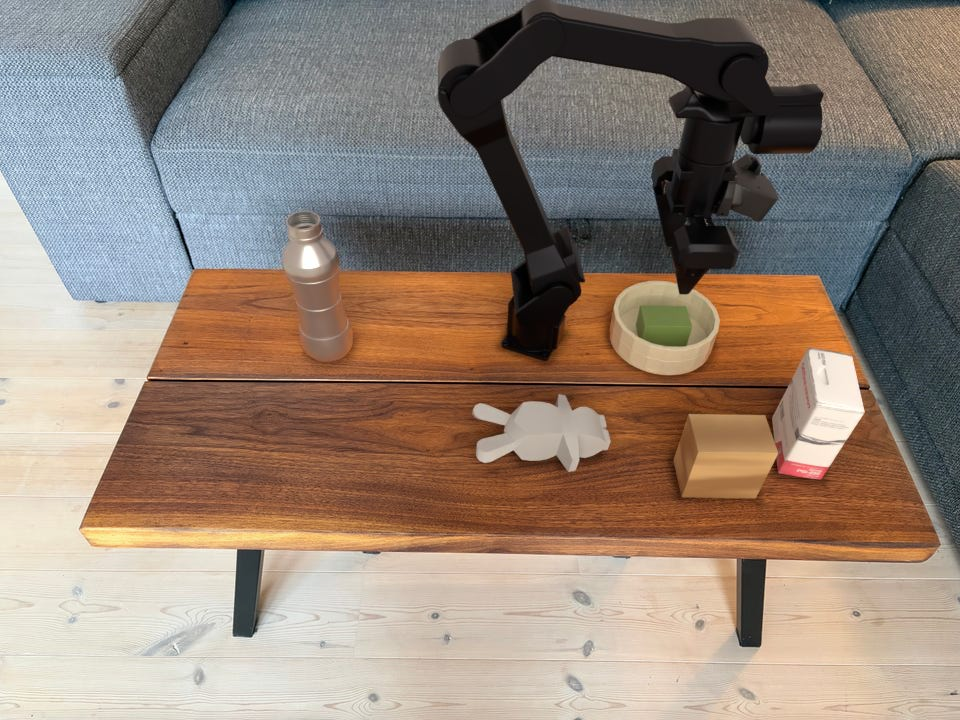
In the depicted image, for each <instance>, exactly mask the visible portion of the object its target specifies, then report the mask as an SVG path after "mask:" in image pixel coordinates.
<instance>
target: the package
mask: <svg viewBox="0 0 960 720" xmlns="http://www.w3.org/2000/svg"><path fill="white" fill-rule="evenodd" d="M636 328H637V333H638V337H639V338H642V339H644V340H646V341H648V342H650V343H653V344H658V345H662V346H687V343H688V339H689V336H690V333H691V329H692V324H691V321H690V317H689V314H688V310H687V307H686V306H648V305H640V309H639V313H638V318H637V322H636Z"/></svg>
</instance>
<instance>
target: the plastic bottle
mask: <svg viewBox="0 0 960 720" xmlns="http://www.w3.org/2000/svg"><path fill="white" fill-rule="evenodd" d="M285 220H286V221H285V224H286V225H285V226H286V234H287V238H288V239H289V240H288V241H287V242H286V244H285V246H284V247H283V250H282V252H281V261H280V262H281V266H282V269H283V272H284V274H285V276H286V278H287V281H288V283H289V286H290V289H291V290H292V291H291V292H292V294H293V296H294V300H295V304H296V306H297V314H298V321H299V326H298V331H299V332H298V333H299V334H298V335H299V343H300V344H301V347H302V348H303V351H304V352H305V354H306V355H308V356H309V357H310V358H312V359H314V360H315V361H318V362H322V363H331V362H336V361H339V360H341V359H343V358H344V357H345V356H347V355H348V353H349V352H350V351H351V349H352V347H353V343H354V331H353V329H352V325H351V322H350V320H349V319H348V317H347V313H346V310H345V306H344V304H343V303H344V302H343V299H342V292H341V281H340V279H341V277H340V274H341V273H340V272H341V269H340V267H341V265H340V263H341V262H340V254H339V252H338V250H337V248H336V246H335V245H334V244H333V242H331V241H330V239H328V237H325V236H324V228H323V225H322V219H321V218H320V216H319V214H318V213H316V212H314V211H311V210H301V211H295V212H293V213H292V214H289V215H288V216H287V218H286V219H285Z"/></svg>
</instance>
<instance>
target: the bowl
mask: <svg viewBox="0 0 960 720" xmlns="http://www.w3.org/2000/svg"><path fill="white" fill-rule="evenodd" d="M640 305H648V306H686V307H687V310H688V314H689V317H690V321H691V324H692V329H691V333H690V336H689V339H688V343H687V346H662V345H658V344H653V343H650V342H648V341H646V340H644V339H642V338H639V337H638V333H637V328H636V322H637V318H638V313H639V309H640ZM720 322H721V319H720V317H719V313H718V311H717V308H716V307H715V306H714V304H713V303H712V302H711V301H710V300H709V298H707V297H706V296H704V295H703V294H702V293H700V291H698V290H696V289H694V288H693V289H692V291H691V292H690V293H689V294H687V295H685V294H679V290H678V286H677V282H674V281H673V282H672V281H668V280H647V281H642V282H637V283H634V284H633V285H631V286H629V287H626V288H625V289H623V290H622V291H621V293H620V294H619V295H617V297H616V298H615V301H614V305H613V309H612V313H611V321H610V325H609V340H610V344H611V346H612V348H613V350H614V351H615V353H616V354H617V355H618V356H619V358H621V359H622V360H623V361H624V362H626V363H627V364H629V365H630V366H632V367H634V368H636V369H638V370H641V371H643V372H647V373H650V374H654V375H660V376H678V375H684V374H688V373H691V372H693V371H695V370H697V369H699V368H700V367H702V366H703V365H704V363H706V362H707V360H708V359H709V357H710V355H711V354H712V350H713V348H714V345H715V341H716V338H717V336H718V333H719V329H720Z"/></svg>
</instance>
